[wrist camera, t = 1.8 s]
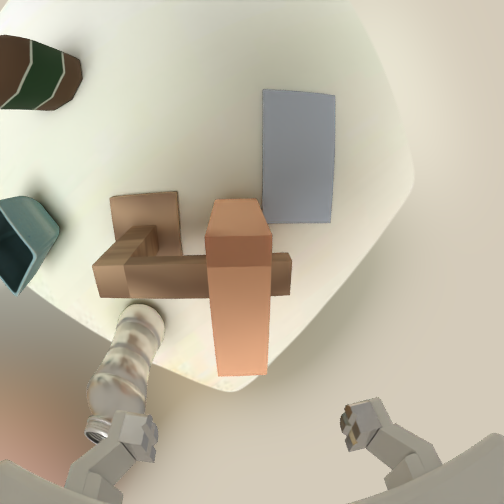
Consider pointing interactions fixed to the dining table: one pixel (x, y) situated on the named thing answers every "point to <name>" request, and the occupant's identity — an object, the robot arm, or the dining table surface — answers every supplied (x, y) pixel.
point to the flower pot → (23, 240)
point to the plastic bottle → (124, 369)
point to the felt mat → (298, 156)
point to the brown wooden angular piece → (160, 254)
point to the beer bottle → (35, 75)
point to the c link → (239, 285)
